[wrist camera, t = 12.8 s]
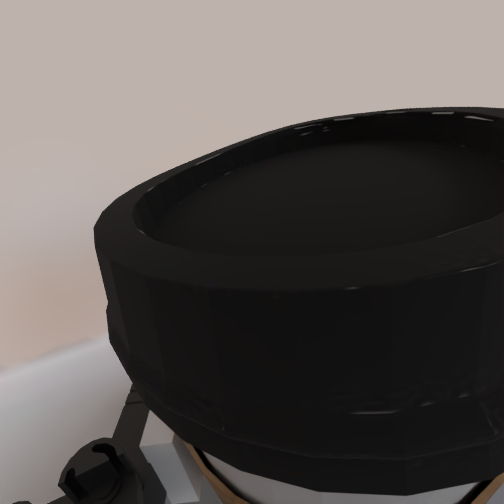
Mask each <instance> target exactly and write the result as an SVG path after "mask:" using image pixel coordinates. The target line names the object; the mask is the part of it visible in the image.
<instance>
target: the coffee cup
mask: <svg viewBox="0 0 504 504" xmlns="http://www.w3.org/2000/svg"><path fill="white" fill-rule="evenodd" d="M94 242H95V249H96V253H97V258H98V262H99V266H100V270H101V274H102V279H103V283H104V287H105V291H106V295H107V300H108V305H107V310H106V314H107V323H108V332H109V340H110V343H111V345H112V347H113V349H114V351H115V353H116V354H117V356H118V358H119V360H120V362H121V363H122V365H123V367H124V369H125V371H126V373H127V374H128V376H129V377H130V379H131V381H132V383H133V385H134V386H135V388H136V390H137V392H138V394H139V395H140V397H141V399H142V401H143V403H144V404H145V406H146V407H147V408H149V409H150V410H151V411H152V412H153V413H154V414H155V415H156V416H157V417H158V418H159V419H160V420H161V421H162V422H164V423H165V424H166V425H167V426H168V427H169V428H170V429H171V430H172V431H173V432H174V433H175V434H176V435H177V436H179V437H180V438H181V439H182V440H183V442H184V443H185V445H186V447H187V448H188V450H189V451H190V453H191V455H192V456H193V458H194V460H195V461H196V463H197V464H198V466H199V468H200V469H201V471H202V472H203V474H204V475H205V477H206V479H207V480H208V482H209V483H210V485H211V486H212V488H213V489H214V491H215V492H216V494H217V495H218V497H219V498H220V500H221V501H222V503H223V504H486V503H487V502H488V500H489V499H490V498H491V497H492V496H493V494H494V493H495V492H496V491H497V490H498V489H499V487H500V486H501V485H502V484H503V483H504V108H485V107H432V108H409V109H396V110H386V111H377V112H368V113H358V114H350V115H343V116H335V117H329V118H324V119H318V120H312V121H307V122H303V123H299V124H294V125H290V126H286V127H283V128H279V129H276V130H273V131H269V132H266V133H263V134H260V135H257V136H254V137H251V138H249V139H246V140H243V141H240V142H238V143H235V144H232V145H229V146H227V147H224V148H222V149H219V150H216V151H214V152H211V153H209V154H206V155H204V156H202V157H199V158H197V159H194V160H192V161H189V162H187V163H185V164H182V165H180V166H177V167H175V168H173V169H171V170H168V171H166V172H164V173H162V174H159V175H157V176H155V177H153V178H151V179H149V180H147V181H145V182H143V183H141V184H139V185H137V186H136V187H134V188H132V189H131V190H129V191H128V192H126V193H125V194H123V195H121V196H120V197H118V198H117V199H116V200H115V201H113V202H112V203H111V204H110V205H109V206H108V207H107V208H106V209H105V210H104V211H103V212H102V213H101V215H100V217H99V219H98V220H97V222H96V224H95V226H94Z"/></svg>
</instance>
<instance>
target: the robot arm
mask: <svg viewBox="0 0 504 504" xmlns="http://www.w3.org/2000/svg"><path fill="white" fill-rule="evenodd" d="M202 473H203V472H202V471H201V469H200V468H199V466H198V464H197V463H196V461H195V460H194V458H193V456H192V455H191V453H190V451H189V450H188V448H187V447H186V445H185V443H184V442H183V440H182V439H181V438H180V437H179V436H177V435H176V434H175V433H174V432H173V431H172V430H171V429H170V428H169V427H168V426H167V425H166V424H165V423H164V422H162V421H161V420H160V419H159V418H158V417H157V416H156V415H155V414H154V413H153V412H152V411H151V410H150V409H149V408H147V407H146V406H145V404H144V403H143V401H142V399H141V397H140V395H139V394H138V392H137V390H136V388H135V386H134V385H133V384H132V386H131V389H130V393H129V394H128V397H127V400H126V402H125V406H124V408H123V410H122V413H121V416H120V418H119V421H118V424H117V426H116V429H115V432H114V434H113V437H112V438H100V439H97V440H94V441H92V442H90V443H88V444H87V445H85V446H84V447H82V448H81V449H80V450H79V451H78V452H77V453H76V454H75V455H74V456H73V457H72V458H71V459H70V460H69V462H68V463H67V465H66V466H65V468H64V469H63V471H62V473H61V476H60V479H59V483H58V486H59V487H60V488H61V490H62V491H63V492H64V493H65V494H66V495H65V496H63V497H60V498H58V499H56V500H54V501H52V502H50V503H48V504H165V500H166V495H167V496H168V498H169V500H170V502H171V503H172V504H178V503H187V502H196V501H200V493H201V483H202ZM13 504H31V503H30V502H29V501H18V502H15V503H13Z"/></svg>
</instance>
